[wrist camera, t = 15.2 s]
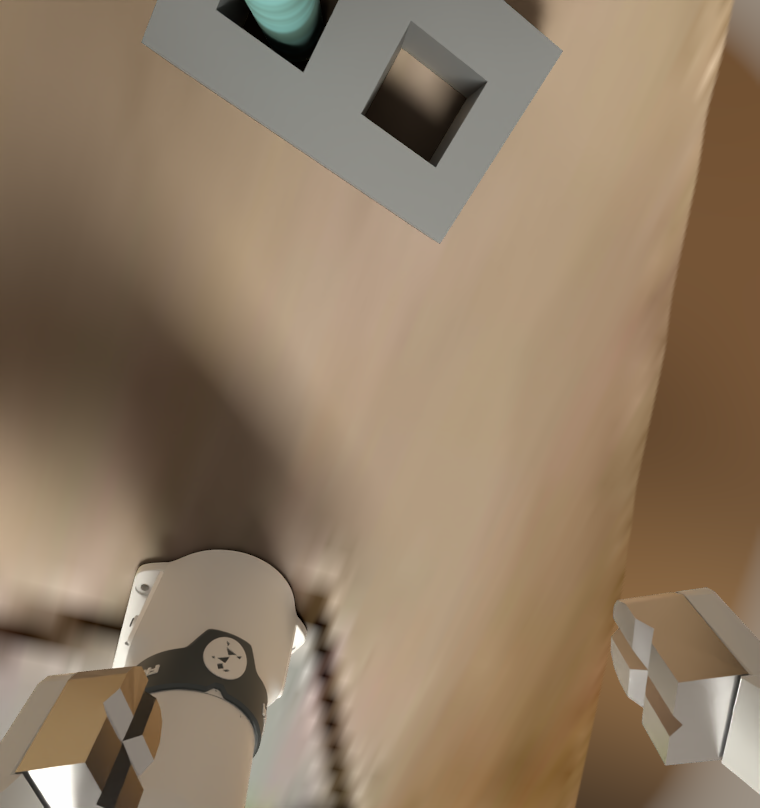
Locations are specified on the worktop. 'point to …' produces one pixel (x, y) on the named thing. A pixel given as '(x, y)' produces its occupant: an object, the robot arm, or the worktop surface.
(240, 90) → the socket block
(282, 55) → the teal peg
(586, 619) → the worktop surface
